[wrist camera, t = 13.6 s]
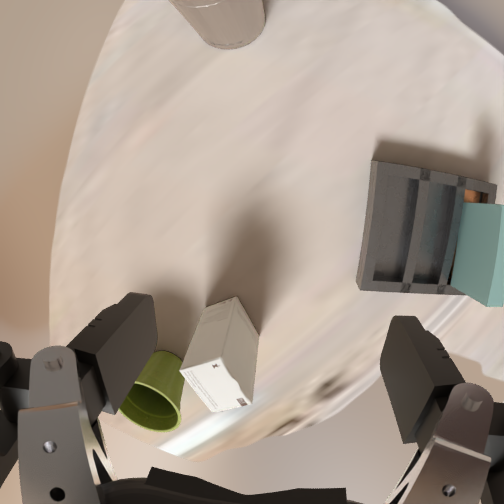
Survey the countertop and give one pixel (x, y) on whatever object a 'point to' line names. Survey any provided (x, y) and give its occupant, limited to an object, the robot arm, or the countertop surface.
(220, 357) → the skincare box
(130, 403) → the plant pot
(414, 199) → the rack
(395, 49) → the countertop surface
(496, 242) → the panel
